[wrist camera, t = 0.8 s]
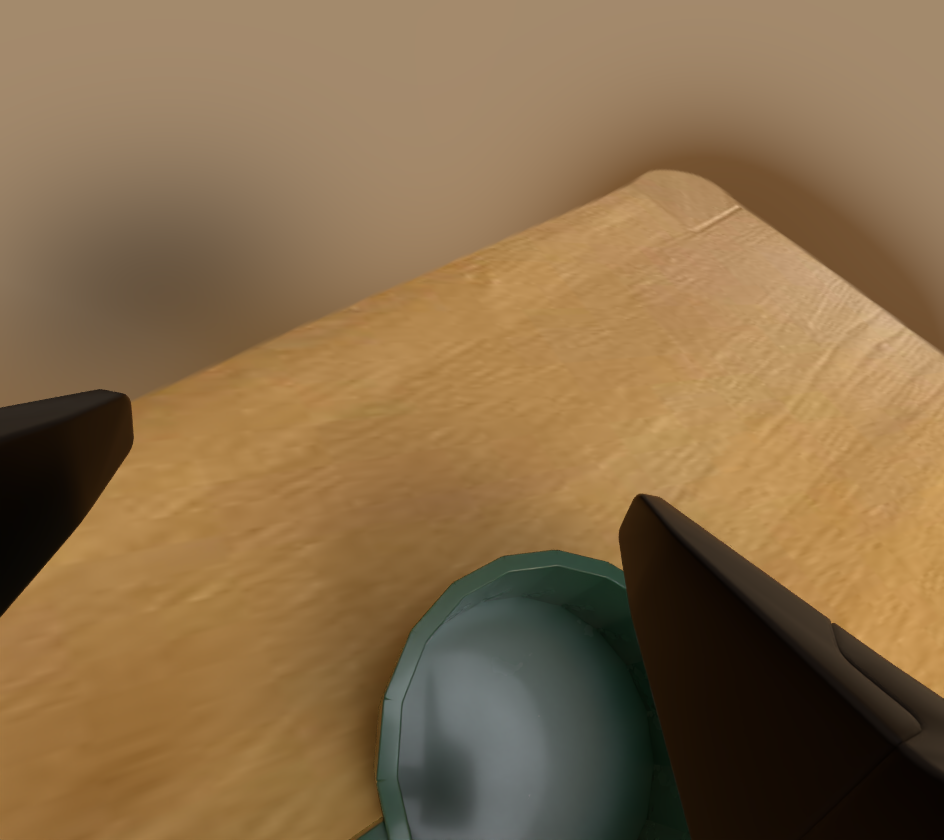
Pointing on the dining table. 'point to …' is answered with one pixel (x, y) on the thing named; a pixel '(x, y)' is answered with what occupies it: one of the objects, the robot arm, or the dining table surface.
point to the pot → (524, 714)
